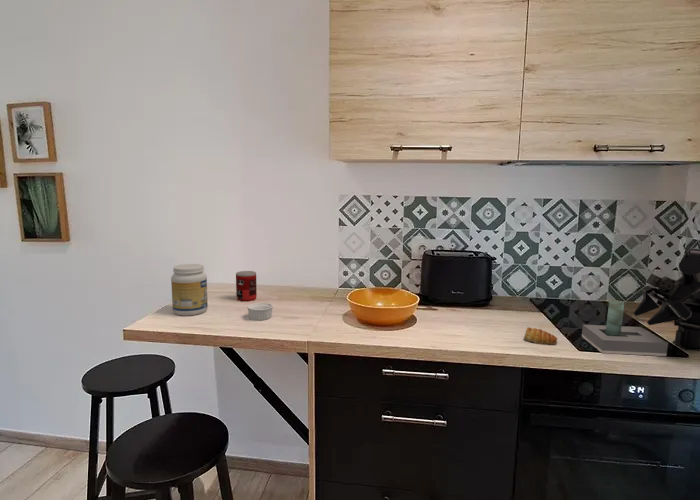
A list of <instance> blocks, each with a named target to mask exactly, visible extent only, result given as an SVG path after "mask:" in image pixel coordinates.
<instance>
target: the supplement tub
mask: <svg viewBox="0 0 700 500" xmlns="http://www.w3.org/2000/svg"><path fill="white" fill-rule="evenodd" d="M172 270H173V274H172V275H171V277H170V281H171V282H170V284H171V300H172V301H171V302H172V305H171V306H172V312H173V313H174V314H175V315H178V316H184V317H187V316H189V317H190V316H196V315H200V314H204V313H205V312H206V311H207V310H208V308H209V305H208V280H207V278H208V277H207V274H206V273H205V272H204V271H205V266H204V265H203V264H200V263H183V264H178V265H175V266H173V269H172Z"/></svg>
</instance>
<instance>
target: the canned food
mask: <svg viewBox="0 0 700 500" xmlns="http://www.w3.org/2000/svg"><path fill="white" fill-rule="evenodd" d="M235 287H236V288H235V290H236V292H235V293H236V300H237V301H238V302H241V303H243V302H253V301H255V300H256V299H257V296H258V295H257V292H258V291H257V289H258V288H257V271H253V270H241V271H238V272H235Z"/></svg>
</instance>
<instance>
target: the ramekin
mask: <svg viewBox="0 0 700 500" xmlns="http://www.w3.org/2000/svg"><path fill="white" fill-rule="evenodd" d="M246 307H247V311H248V312H247V313H248V318H249V319H250V320H252V321H256V322H259V321H260V322H261V321H267V320H269V319H271V318H272V316H273V308H274V305H273V304H272V303H270V302H255V303H250V304H248V305H247V306H246Z"/></svg>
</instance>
